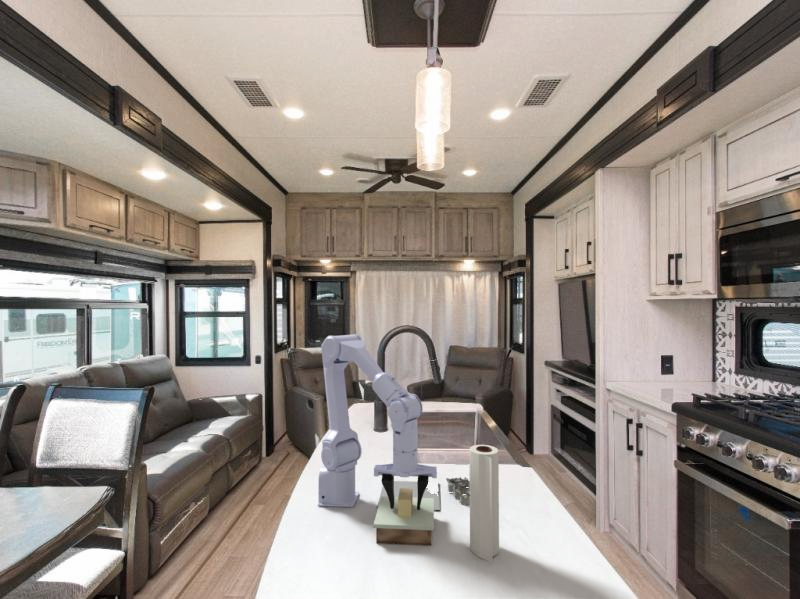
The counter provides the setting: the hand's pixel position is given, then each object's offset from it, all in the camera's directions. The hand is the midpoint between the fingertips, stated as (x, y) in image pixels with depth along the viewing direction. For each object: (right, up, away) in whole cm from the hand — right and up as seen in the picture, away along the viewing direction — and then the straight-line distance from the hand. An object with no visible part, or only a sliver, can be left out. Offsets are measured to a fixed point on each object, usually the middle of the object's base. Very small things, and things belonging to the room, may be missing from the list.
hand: (405, 507), depth 94 cm
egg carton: (+16, -6, +17) cm, 24 cm away
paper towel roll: (+16, -5, -8) cm, 19 cm away
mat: (+1, -5, +17) cm, 18 cm away
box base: (0, -5, 0) cm, 5 cm away
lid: (0, -2, 0) cm, 2 cm away
